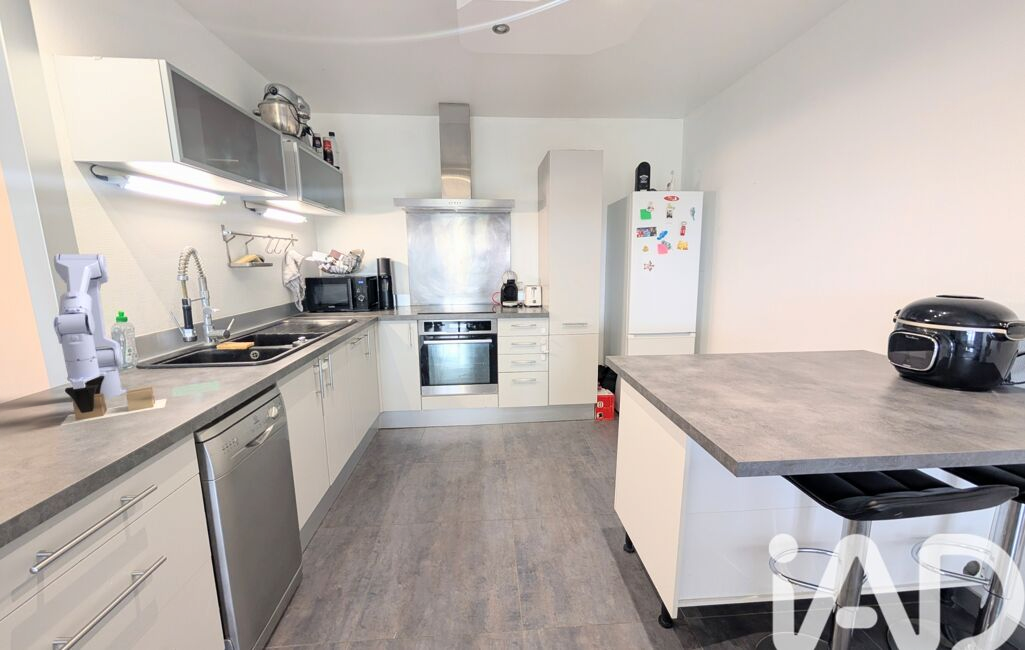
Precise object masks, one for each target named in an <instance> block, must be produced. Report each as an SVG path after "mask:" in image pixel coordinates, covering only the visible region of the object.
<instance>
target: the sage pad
mask: <svg viewBox="0 0 1025 650" xmlns="http://www.w3.org/2000/svg"><path fill="white" fill-rule="evenodd" d="M218 390H221V386H220V381H219V380H212V381H208V382H200V383H199V382H198V383H193V384H187V385H181V386H175V387H172V391H171V396H170V398H175V397H181V396H187V395H193V394H198V393H199V394H200V393H206V392H213V391H218Z"/></svg>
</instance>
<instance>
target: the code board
mask: <svg viewBox="0 0 1025 650" xmlns="http://www.w3.org/2000/svg"><path fill="white" fill-rule="evenodd" d="M166 403H167V398H162V399H161V398H160V399H155V404H154V407H151V408H145V409H139V410H133V411H129V407H128V404H125V405H120V406H116V407H115V406H114V407H106V408H107V411H106V412H105V414H104V416H99V417H93V418H88V419H82V420H76V417H75V413H73V414H68V416H67V417H65V419H64V420H63V421H62V422H61V423H60V427H61V426H65V425H66V426H67V425H71V424H77V423H84V422H87V421H94V420H100V419H104V418H111V417H117V416H122V415H128V414H133V413H134V414H135V413H138V412H139V413H140V412H145V411H150V410H157V409H161V408H162V409H163V408H165V407H166Z"/></svg>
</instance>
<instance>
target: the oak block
mask: <svg viewBox="0 0 1025 650" xmlns="http://www.w3.org/2000/svg"><path fill="white" fill-rule="evenodd" d="M125 395H126V401H127V405H128V407H129V411H133V410H139V409H145V408H151V407H154V404H155V400H156V399H155V395H154V388H153V385H150V386H149V385H148V386H144V387H143V386H142V387H136V388H129V389H128V390H127V391H126V392H125Z"/></svg>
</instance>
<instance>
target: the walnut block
mask: <svg viewBox="0 0 1025 650" xmlns="http://www.w3.org/2000/svg"><path fill="white" fill-rule="evenodd" d="M72 406H73V411H74V414H75V417H76V420H82V419H88V418H93V417H99V416H104V414H105V412H106V411H107V408H108V407H107V403H106V398H105V397H104V393H101V394H95V395H94V409H93V411H92V412H86V413H81V412H80V410H79V408H78V407H77V405H76V403H75V401H74V400H73V401H72Z"/></svg>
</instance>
